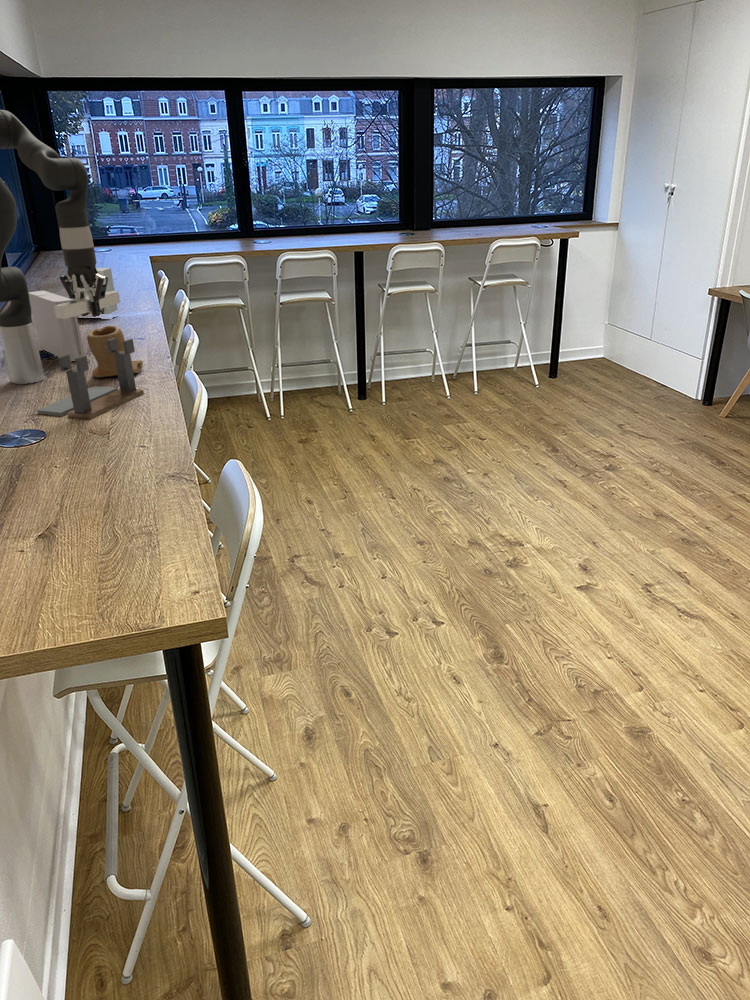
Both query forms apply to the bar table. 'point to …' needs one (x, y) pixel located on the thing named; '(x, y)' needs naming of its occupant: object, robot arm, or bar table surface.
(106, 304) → the steel rail
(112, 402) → the cradle stand
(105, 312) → the hard drive box
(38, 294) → the game console
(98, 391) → the rubber mat
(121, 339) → the clay boot vase
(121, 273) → the bar table surface
